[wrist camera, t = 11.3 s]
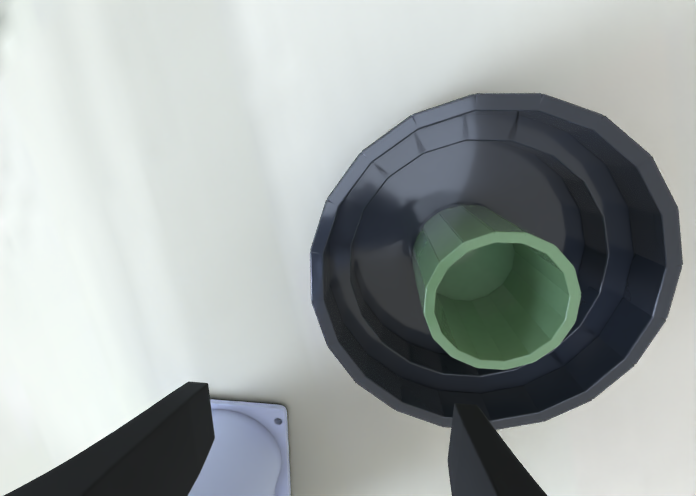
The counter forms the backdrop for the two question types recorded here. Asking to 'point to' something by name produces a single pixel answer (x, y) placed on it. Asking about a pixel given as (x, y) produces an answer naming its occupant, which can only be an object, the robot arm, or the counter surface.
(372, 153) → the dark bowl
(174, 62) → the counter surface
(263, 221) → the counter surface
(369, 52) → the counter surface
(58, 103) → the counter surface
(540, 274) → the green cup
